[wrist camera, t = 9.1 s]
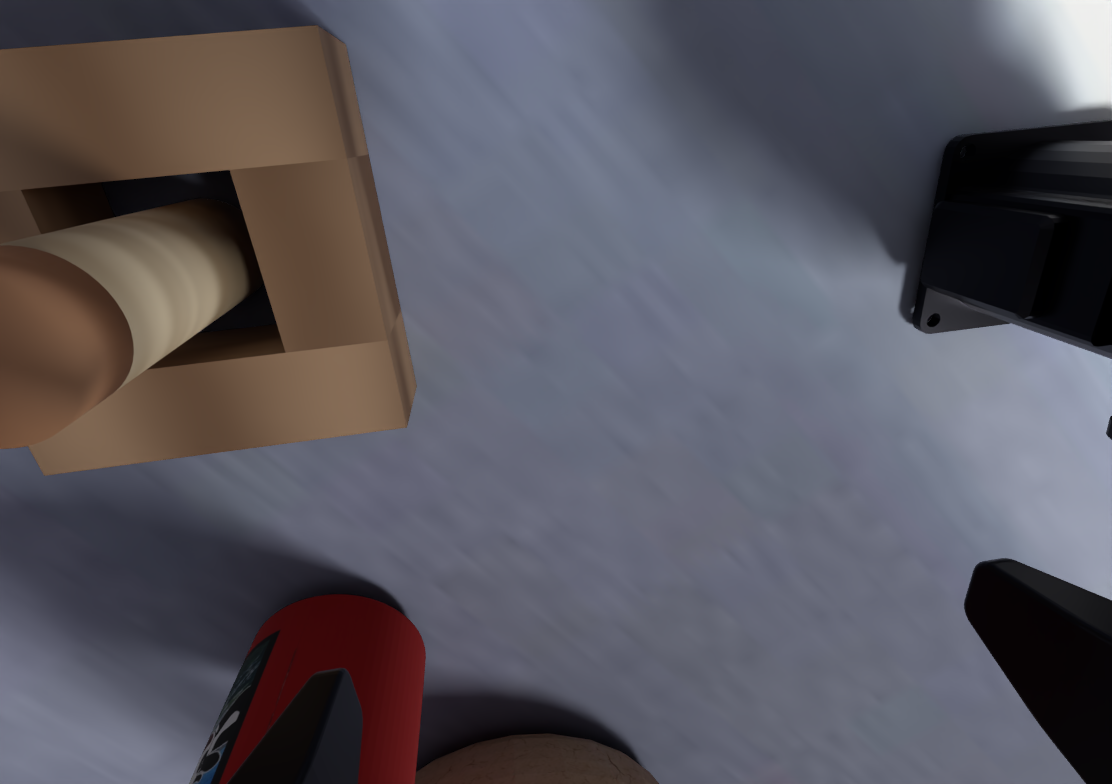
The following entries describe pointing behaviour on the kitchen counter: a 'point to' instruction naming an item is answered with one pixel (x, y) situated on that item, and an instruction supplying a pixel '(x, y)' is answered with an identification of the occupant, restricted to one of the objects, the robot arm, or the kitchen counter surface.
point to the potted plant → (535, 763)
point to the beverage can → (317, 645)
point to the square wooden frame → (271, 217)
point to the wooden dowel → (110, 306)
